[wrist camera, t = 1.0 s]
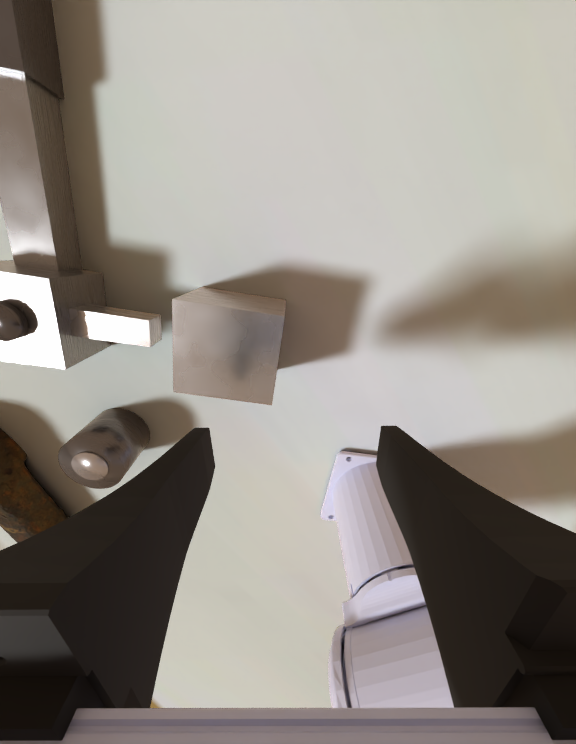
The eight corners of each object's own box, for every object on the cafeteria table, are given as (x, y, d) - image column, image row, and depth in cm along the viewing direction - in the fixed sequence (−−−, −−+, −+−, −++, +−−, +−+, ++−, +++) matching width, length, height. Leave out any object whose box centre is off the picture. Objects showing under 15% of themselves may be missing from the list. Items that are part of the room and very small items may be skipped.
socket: (148, 411, 22) (119, 445, 18) (151, 454, 24) (124, 494, 20) (92, 404, 22) (50, 437, 18) (99, 448, 23) (62, 487, 20)
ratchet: (165, -123, 11) (83, -372, 7) (172, 354, 20) (138, 384, 15) (-75, -182, 11) (-338, -497, 6) (38, 335, 19) (-39, 360, 15)
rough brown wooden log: (113, 550, 29) (83, 600, 25) (78, 555, 29) (43, 606, 25) (5, 396, 22) (-63, 431, 18) (-39, 405, 22) (-118, 442, 18)
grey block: (285, 299, 18) (285, 316, 14) (275, 369, 21) (271, 405, 16) (202, 286, 18) (172, 299, 13) (200, 358, 20) (173, 392, 15)
